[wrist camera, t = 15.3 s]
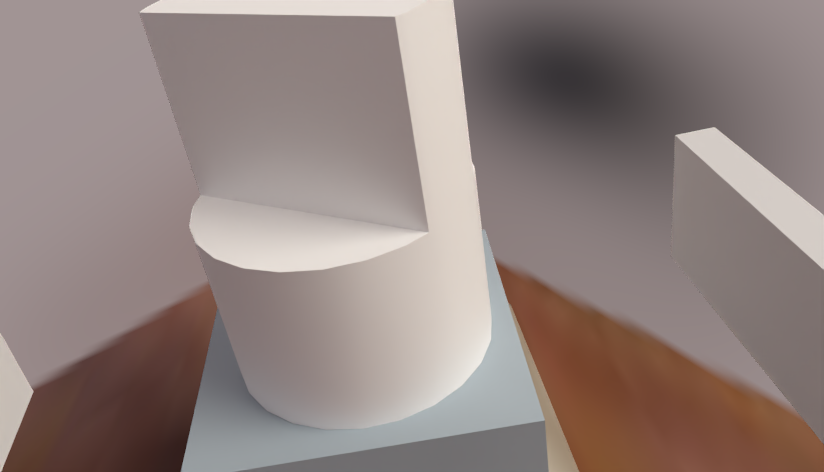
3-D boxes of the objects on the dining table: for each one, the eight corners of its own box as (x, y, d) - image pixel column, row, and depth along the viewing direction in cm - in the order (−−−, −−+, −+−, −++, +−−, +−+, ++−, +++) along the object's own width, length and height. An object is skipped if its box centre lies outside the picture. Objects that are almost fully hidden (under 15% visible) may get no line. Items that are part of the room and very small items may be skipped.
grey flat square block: (224, 582, 25) (178, 481, 23) (255, 362, 35) (225, 272, 32) (552, 528, 25) (544, 420, 23) (495, 322, 35) (484, 229, 32)
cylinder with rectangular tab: (530, 283, 28) (504, -53, 22) (418, 464, 22) (335, 65, 16) (330, 246, 32) (259, -45, 26) (186, 389, 26) (47, 50, 20)
